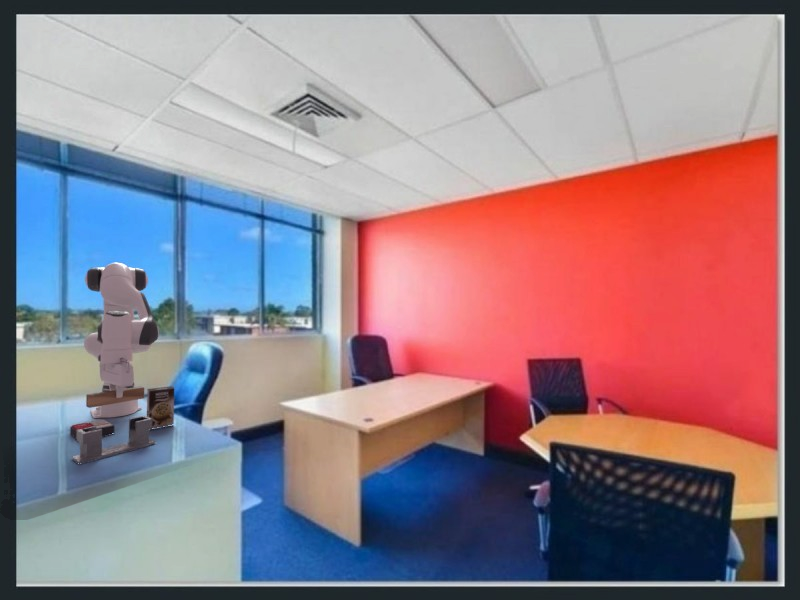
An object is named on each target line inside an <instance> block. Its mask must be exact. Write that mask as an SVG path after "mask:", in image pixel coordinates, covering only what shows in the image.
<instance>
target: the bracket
mask: <svg viewBox="0 0 800 600" xmlns="http://www.w3.org/2000/svg"><path fill="white" fill-rule="evenodd" d="M151 428H152V418H149V417H147V415H142V416H138V417H132V418H129V419H128V442H124V443H120V444H116V445H112V446H108V447H104V448H103V437H102V429H99V430H96V426H93V427H88V428H84V429H79V430H77V440H76V441H77V442H78V443H80V446H79V454H76V455H73V456H71V457H72V458H71V460H72V459H73V460H72V461H74V460H75V461H76V462H77V463H79V464H78V465H81V464H80V463H83V464H85V463H84V462H87V463H89V462H88V461H91V460H94V461H96V460H95V459H98V460H100V459H99V458H102V459H105V458H109V457H112V455H113V456H116V455H120V454H123V452H124V453H127V452H126V451H128V452H131V451H134V449H135V450H139V449H141V448H146V447H148V445H150V446H152V445H151V444H154V445H156V441H155V440H154V439H152V438H150V430H149V429H151ZM145 446H146V447H145ZM138 448H139V449H138ZM130 450H131V451H130ZM119 453H120V454H119ZM108 456H109V457H108ZM104 457H105V458H104ZM75 461H74V462H75ZM76 462H75V463H76ZM91 462H92V461H91ZM77 463H76V464H77Z"/></svg>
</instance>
